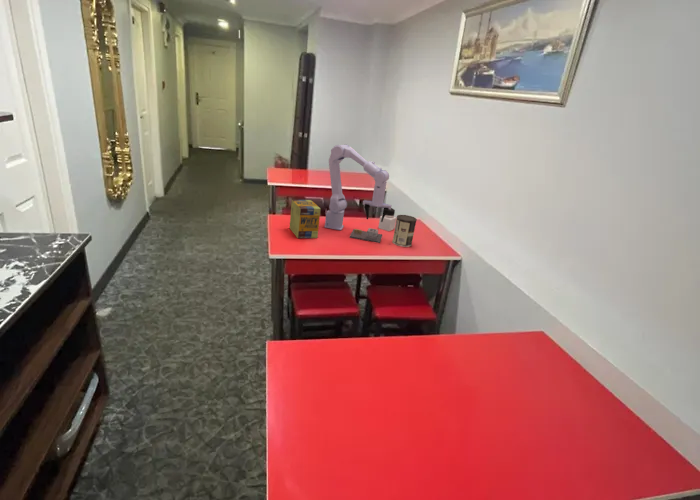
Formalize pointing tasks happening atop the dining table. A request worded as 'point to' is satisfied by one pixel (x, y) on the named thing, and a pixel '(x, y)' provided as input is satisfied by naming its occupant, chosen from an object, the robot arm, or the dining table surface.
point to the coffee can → (404, 230)
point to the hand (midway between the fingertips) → (374, 220)
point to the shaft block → (364, 236)
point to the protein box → (304, 218)
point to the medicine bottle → (388, 221)
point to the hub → (372, 233)
